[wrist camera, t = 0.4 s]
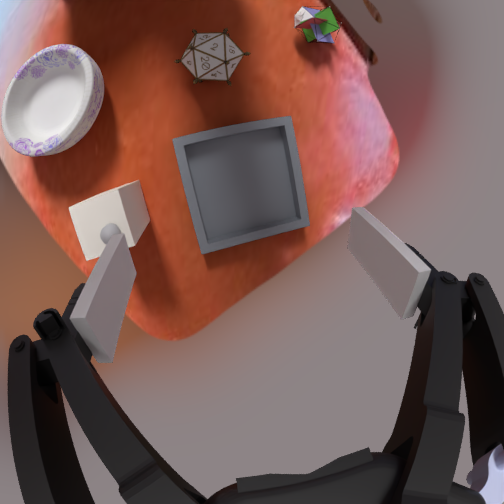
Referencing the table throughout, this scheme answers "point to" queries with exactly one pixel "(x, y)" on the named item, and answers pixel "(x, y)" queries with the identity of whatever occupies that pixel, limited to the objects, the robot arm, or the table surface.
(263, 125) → the tray
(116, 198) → the carton
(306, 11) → the geometric puzzle
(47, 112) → the white round bowl
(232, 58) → the game die
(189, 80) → the table surface
